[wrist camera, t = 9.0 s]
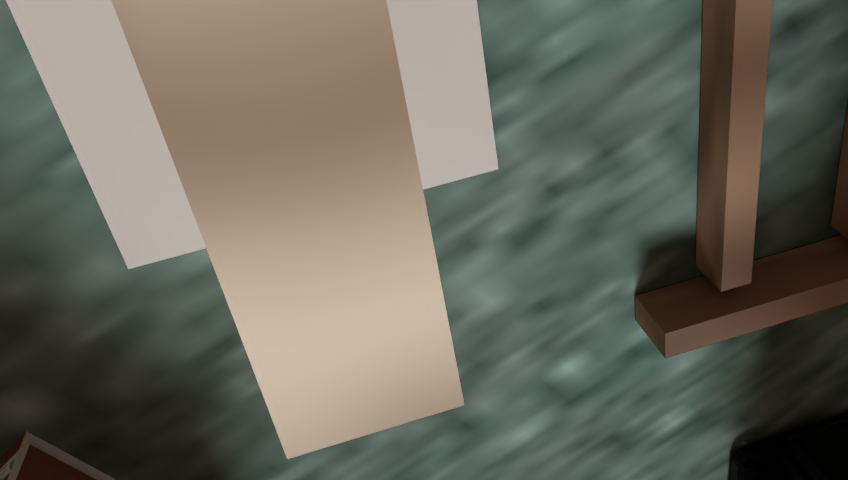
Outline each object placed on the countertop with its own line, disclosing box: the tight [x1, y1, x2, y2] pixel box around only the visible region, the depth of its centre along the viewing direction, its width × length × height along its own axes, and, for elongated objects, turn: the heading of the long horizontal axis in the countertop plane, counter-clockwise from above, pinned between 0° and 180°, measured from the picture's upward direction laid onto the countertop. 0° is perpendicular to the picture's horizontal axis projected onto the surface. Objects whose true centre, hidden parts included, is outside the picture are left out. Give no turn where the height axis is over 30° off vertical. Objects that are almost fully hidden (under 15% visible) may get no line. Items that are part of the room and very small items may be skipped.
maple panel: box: [111, 0, 464, 459], centre depth 14 cm, size 10×3×9 cm, turn 10°
